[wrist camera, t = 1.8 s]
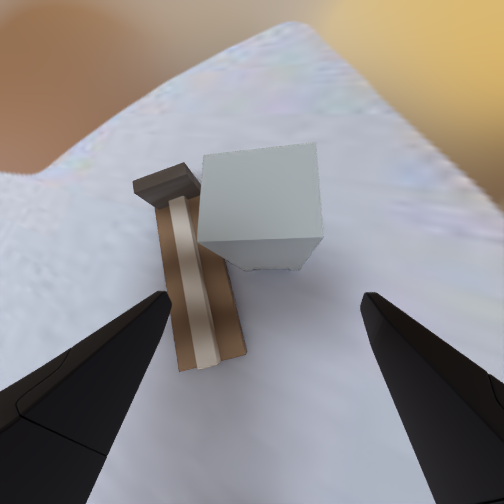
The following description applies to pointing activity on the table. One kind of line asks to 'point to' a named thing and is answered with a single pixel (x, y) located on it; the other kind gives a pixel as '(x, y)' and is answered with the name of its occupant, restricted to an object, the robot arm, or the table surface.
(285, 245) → the block
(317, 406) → the table surface
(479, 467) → the robot arm
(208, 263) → the rail board
